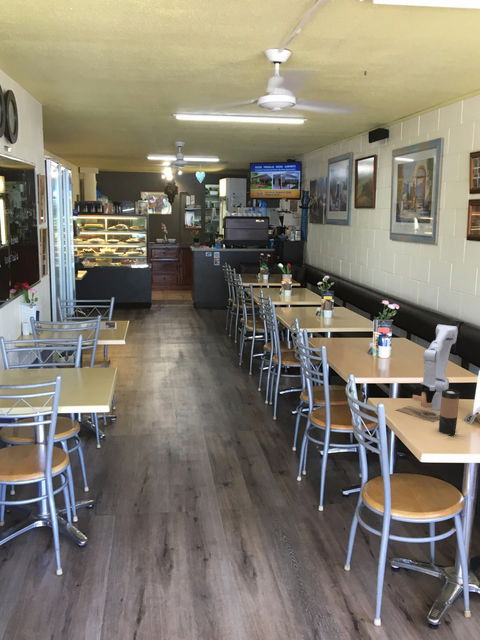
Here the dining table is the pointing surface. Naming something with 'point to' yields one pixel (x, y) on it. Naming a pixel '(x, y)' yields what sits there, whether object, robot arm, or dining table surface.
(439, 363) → the robot arm
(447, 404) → the travel mug
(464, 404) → the dining table surface
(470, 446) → the dining table surface
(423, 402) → the cylinder with stick handle
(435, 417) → the board
